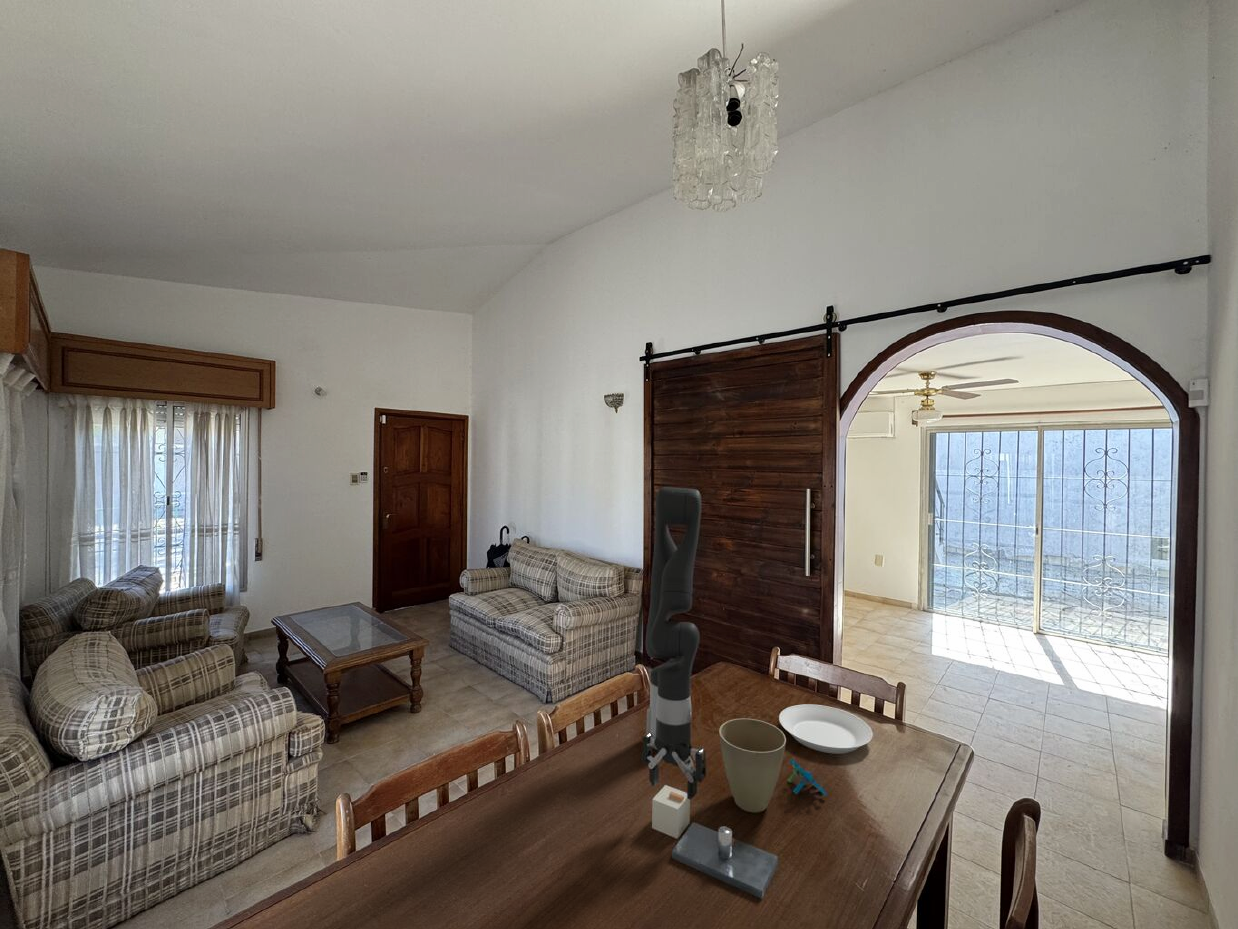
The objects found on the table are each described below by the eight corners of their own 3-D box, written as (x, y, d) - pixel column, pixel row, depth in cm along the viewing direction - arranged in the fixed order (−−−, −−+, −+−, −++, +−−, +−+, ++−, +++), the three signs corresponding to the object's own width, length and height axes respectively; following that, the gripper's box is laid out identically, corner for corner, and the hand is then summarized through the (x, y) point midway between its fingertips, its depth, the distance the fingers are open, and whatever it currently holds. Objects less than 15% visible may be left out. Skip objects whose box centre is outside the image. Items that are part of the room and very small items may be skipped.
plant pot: (705, 791, 128) (706, 725, 128) (756, 777, 134) (757, 714, 134) (743, 832, 114) (745, 757, 114) (798, 814, 120) (800, 743, 120)
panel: (672, 858, 106) (672, 828, 106) (693, 829, 115) (693, 801, 115) (762, 899, 97) (762, 866, 97) (777, 864, 105) (778, 833, 105)
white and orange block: (652, 828, 115) (652, 795, 115) (664, 812, 120) (665, 781, 120) (677, 839, 112) (678, 805, 112) (689, 822, 117) (690, 790, 117)
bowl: (877, 731, 158) (878, 718, 158) (864, 772, 137) (865, 758, 137) (791, 708, 172) (791, 697, 172) (767, 743, 151) (768, 730, 151)
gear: (836, 798, 124) (805, 767, 124) (819, 819, 123) (788, 787, 123) (813, 776, 134) (785, 748, 135) (798, 795, 133) (769, 766, 134)
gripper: (636, 713, 116) (635, 788, 116) (697, 731, 109) (696, 811, 109) (652, 700, 123) (651, 772, 122) (711, 716, 115) (710, 793, 115)
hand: (672, 790), depth 116 cm, fingers open, 8 cm apart
